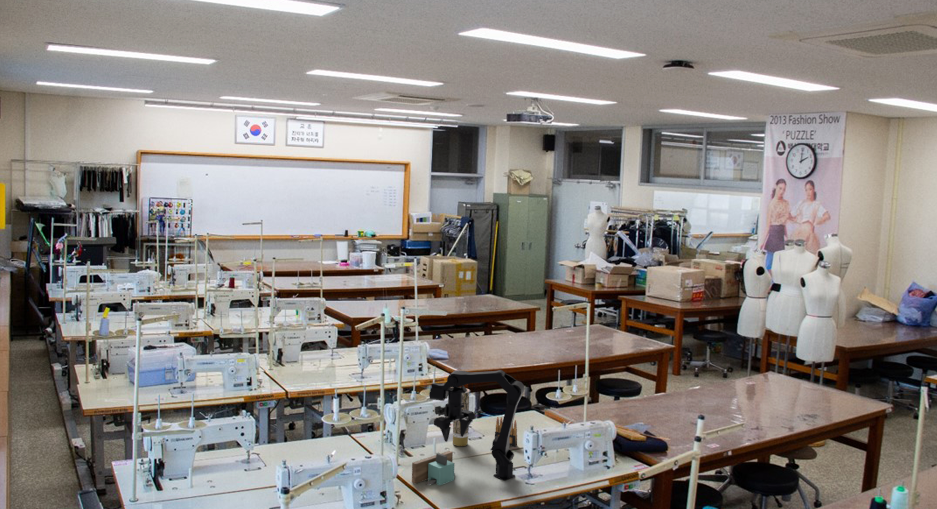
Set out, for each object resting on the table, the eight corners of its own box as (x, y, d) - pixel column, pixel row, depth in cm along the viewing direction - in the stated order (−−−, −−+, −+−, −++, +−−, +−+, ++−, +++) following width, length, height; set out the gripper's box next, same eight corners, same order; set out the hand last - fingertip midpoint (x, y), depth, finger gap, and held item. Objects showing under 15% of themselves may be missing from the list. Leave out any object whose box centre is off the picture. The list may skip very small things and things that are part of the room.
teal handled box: (454, 480, 316) (454, 454, 314) (439, 485, 310) (440, 459, 309) (442, 475, 320) (443, 450, 319) (427, 480, 315) (428, 454, 313)
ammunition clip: (494, 442, 360) (495, 416, 358) (496, 441, 361) (496, 415, 360) (515, 447, 354) (516, 421, 353) (517, 445, 356) (518, 419, 355)
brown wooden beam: (459, 474, 322) (460, 455, 321) (422, 487, 308) (423, 467, 307) (448, 469, 326) (449, 450, 325) (411, 482, 312) (412, 462, 311)
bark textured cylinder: (466, 447, 352) (467, 392, 349) (451, 446, 353) (452, 391, 350) (469, 442, 358) (470, 388, 355) (454, 440, 360) (456, 387, 357)
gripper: (456, 393, 335) (455, 429, 337) (424, 402, 322) (423, 439, 324) (476, 399, 328) (475, 435, 330) (444, 408, 314) (443, 446, 316)
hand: (454, 438), depth 325 cm, fingers open, 9 cm apart
